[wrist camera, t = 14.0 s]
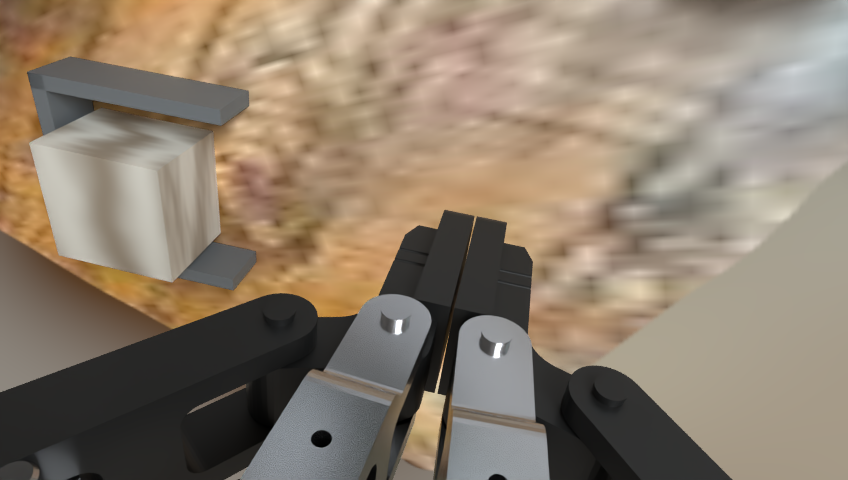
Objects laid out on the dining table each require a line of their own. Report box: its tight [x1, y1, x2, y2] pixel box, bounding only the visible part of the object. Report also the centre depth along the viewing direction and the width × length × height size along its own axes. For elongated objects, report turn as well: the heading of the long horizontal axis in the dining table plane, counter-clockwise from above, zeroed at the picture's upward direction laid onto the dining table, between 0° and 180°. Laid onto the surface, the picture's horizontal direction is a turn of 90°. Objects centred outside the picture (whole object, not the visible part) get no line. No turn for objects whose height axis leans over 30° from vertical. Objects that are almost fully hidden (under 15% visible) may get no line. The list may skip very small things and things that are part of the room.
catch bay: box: [27, 57, 256, 290], centre depth 48 cm, size 15×16×4 cm
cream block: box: [29, 108, 221, 282], centre depth 47 cm, size 10×10×8 cm
